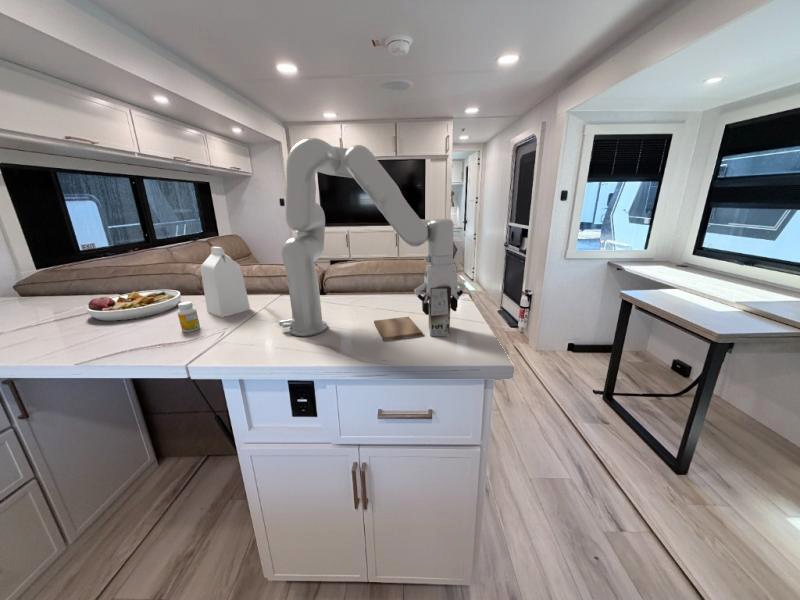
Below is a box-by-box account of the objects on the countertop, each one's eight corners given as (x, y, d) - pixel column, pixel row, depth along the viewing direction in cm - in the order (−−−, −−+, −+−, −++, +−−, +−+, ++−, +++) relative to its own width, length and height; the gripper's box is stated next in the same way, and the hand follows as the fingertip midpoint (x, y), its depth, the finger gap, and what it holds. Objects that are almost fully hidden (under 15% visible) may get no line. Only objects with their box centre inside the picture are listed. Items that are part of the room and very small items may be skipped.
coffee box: (450, 336, 97) (451, 288, 93) (430, 336, 98) (430, 288, 93) (446, 325, 106) (447, 280, 101) (428, 325, 106) (428, 281, 101)
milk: (207, 311, 124) (193, 248, 116) (235, 304, 133) (223, 244, 125) (222, 317, 118) (208, 250, 110) (250, 309, 127) (239, 246, 119)
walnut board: (383, 341, 95) (382, 337, 95) (374, 323, 109) (373, 320, 109) (422, 335, 98) (422, 332, 98) (408, 319, 112) (408, 316, 112)
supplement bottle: (180, 329, 107) (173, 303, 104) (197, 325, 111) (191, 299, 108) (184, 333, 103) (177, 306, 100) (202, 328, 107) (196, 302, 104)
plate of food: (177, 295, 149) (173, 280, 146) (188, 310, 127) (183, 292, 125) (92, 310, 130) (86, 292, 127) (88, 330, 108) (81, 309, 106)
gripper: (418, 264, 89) (418, 318, 94) (471, 259, 93) (469, 312, 98) (410, 260, 96) (411, 311, 101) (460, 256, 100) (458, 305, 105)
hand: (439, 311), depth 100 cm, fingers open, 9 cm apart
